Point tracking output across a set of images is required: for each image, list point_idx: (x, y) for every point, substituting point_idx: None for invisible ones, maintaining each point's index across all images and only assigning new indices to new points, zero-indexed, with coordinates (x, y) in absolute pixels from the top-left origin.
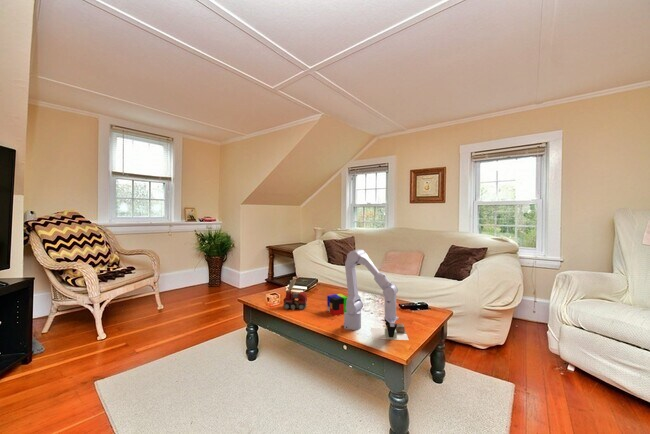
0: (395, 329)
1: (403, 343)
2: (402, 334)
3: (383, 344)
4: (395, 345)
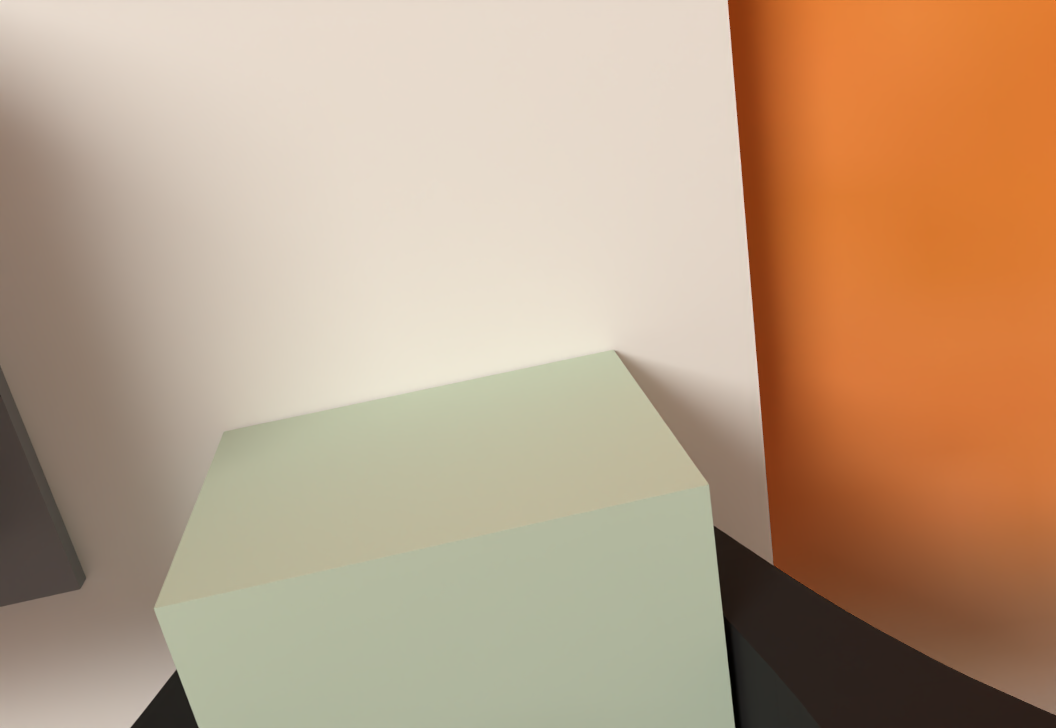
0: (256, 603)
1: (838, 11)
2: (33, 71)
3: None
4: (1039, 334)
